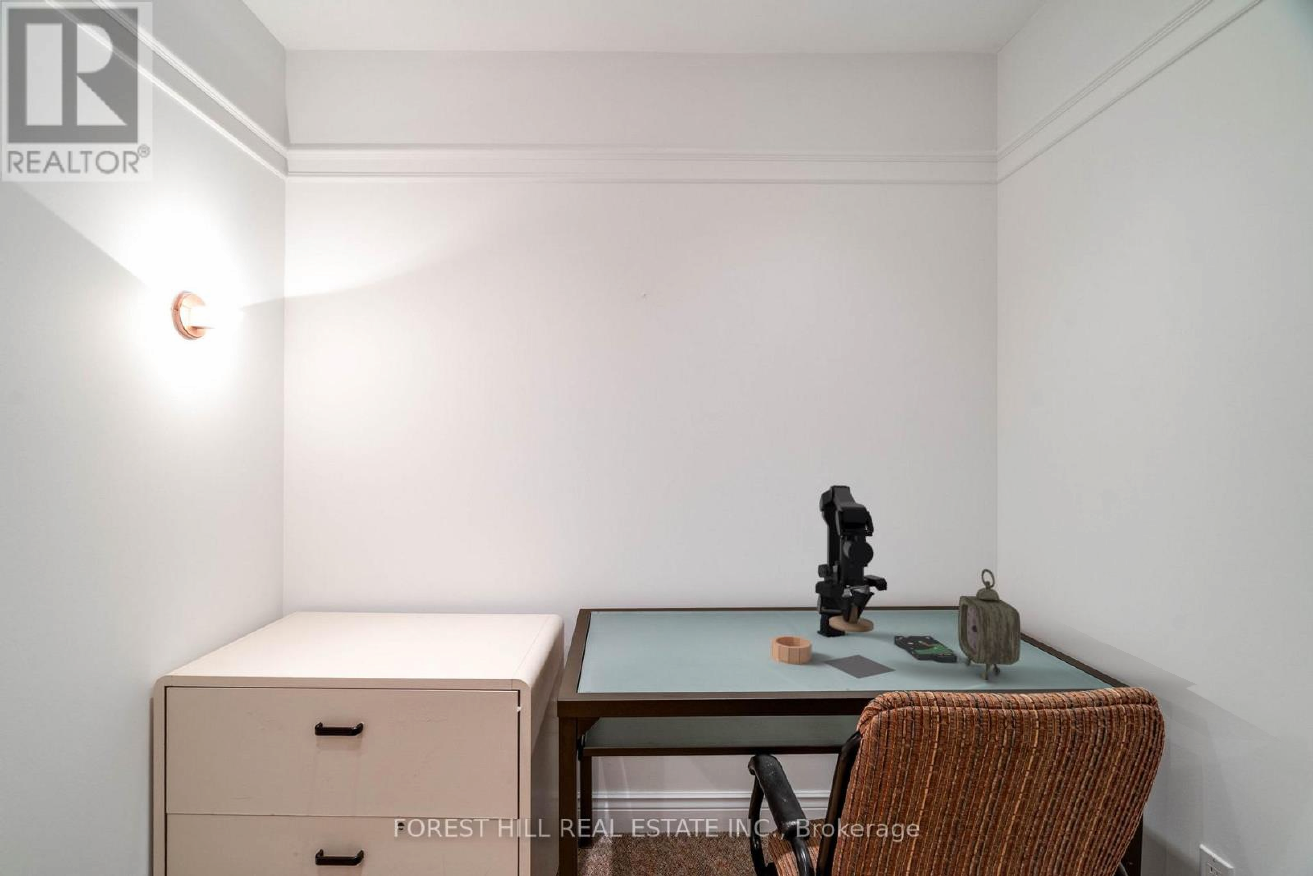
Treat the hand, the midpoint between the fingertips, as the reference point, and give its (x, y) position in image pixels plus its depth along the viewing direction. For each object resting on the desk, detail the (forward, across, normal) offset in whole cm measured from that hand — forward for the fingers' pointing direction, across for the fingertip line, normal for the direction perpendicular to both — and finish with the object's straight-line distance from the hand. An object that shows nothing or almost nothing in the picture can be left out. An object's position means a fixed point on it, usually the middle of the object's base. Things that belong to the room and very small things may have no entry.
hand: (851, 620), depth 157 cm
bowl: (+11, +10, -11) cm, 18 cm away
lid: (+1, 0, 0) cm, 1 cm away
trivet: (+11, -1, +2) cm, 12 cm away
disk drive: (+12, -26, 0) cm, 28 cm away
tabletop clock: (+12, -27, +18) cm, 34 cm away
